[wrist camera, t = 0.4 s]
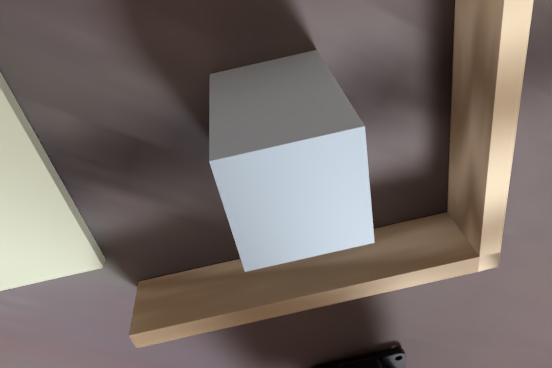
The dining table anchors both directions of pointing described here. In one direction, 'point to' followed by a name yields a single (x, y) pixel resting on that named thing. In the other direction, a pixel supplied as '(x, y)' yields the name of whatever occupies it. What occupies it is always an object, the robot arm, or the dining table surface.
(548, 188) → the dining table surface
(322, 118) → the block
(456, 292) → the dining table surface
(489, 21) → the u-shaped wooden frame
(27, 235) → the pad
